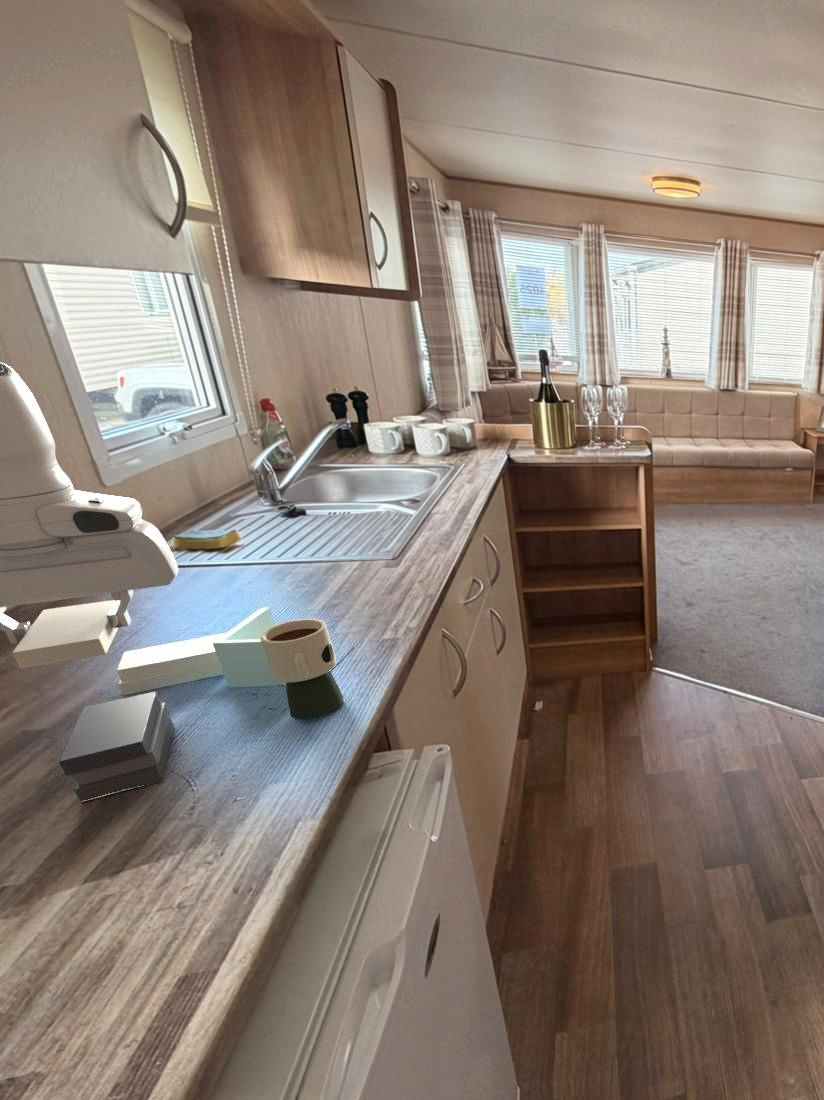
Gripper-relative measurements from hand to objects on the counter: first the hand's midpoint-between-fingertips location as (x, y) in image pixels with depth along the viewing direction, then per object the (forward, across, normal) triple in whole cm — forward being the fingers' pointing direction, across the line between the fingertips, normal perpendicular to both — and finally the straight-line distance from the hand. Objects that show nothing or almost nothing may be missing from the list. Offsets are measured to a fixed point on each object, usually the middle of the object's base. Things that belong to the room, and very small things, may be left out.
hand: (75, 632), depth 73 cm
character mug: (+17, +19, 0) cm, 26 cm away
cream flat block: (+1, 0, 0) cm, 1 cm away
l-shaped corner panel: (+17, +17, +16) cm, 29 cm away
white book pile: (+17, +3, +21) cm, 28 cm away
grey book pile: (+17, 0, -2) cm, 17 cm away
